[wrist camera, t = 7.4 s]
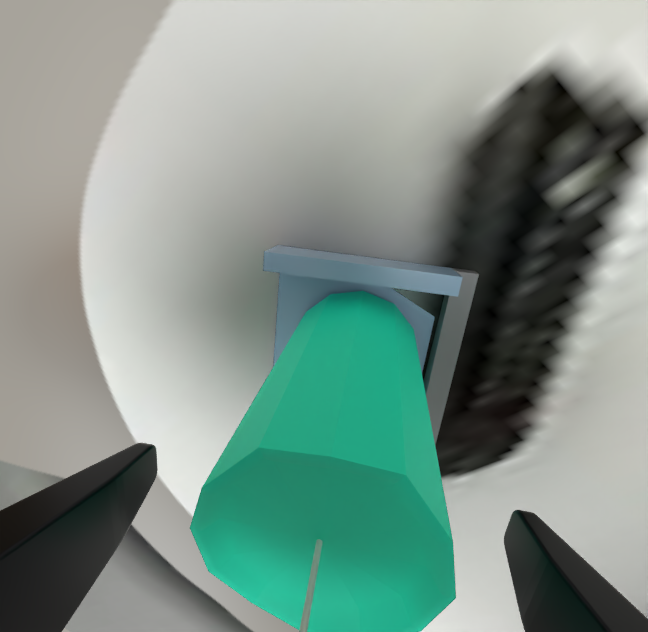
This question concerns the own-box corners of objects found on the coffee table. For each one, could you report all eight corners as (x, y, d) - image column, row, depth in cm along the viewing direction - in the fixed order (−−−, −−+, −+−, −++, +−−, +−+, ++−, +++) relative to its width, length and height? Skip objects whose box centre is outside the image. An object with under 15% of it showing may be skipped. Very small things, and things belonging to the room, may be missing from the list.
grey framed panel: (471, 268, 16) (489, 280, 14) (402, 546, 22) (406, 589, 19) (279, 244, 17) (264, 251, 14) (260, 519, 22) (248, 557, 20)
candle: (433, 381, 17) (518, 742, 6) (324, 411, 19) (239, 734, 8) (391, 271, 16) (405, 497, 5) (275, 314, 17) (84, 555, 6)
